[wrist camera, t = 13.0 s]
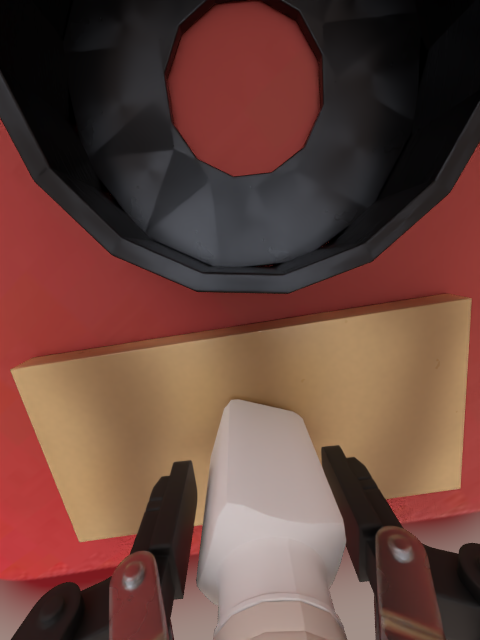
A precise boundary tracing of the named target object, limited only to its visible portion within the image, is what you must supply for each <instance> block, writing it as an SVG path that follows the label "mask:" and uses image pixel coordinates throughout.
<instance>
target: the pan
mask: <svg viewBox="0 0 480 640" xmlns="http://www.w3.org/2000/svg"><path fill="white" fill-rule="evenodd" d="M232 1H240V0H0V118H1V120H2V122H3V124H4V126H5V128H6V129H7V131H8V133H9V135H10V137H11V139H12V141H13V143H14V144H15V146H16V148H17V150H18V152H19V154H20V156H21V158H22V160H23V161H24V163H25V165H26V167H27V169H28V171H29V173H30V175H31V177H32V178H33V180H34V181H35V183H37V184H38V185H39V186H40V187H41V188H42V189H43V190H44V191H45V192H46V193H47V194H48V195H49V196H50V197H51V198H52V199H53V200H54V201H55V202H56V203H58V204H59V205H60V206H61V207H62V208H63V209H64V210H65V211H66V212H67V213H68V214H69V215H70V216H71V217H72V218H73V219H74V220H75V221H76V222H77V223H79V224H80V225H81V226H82V227H83V228H84V229H85V230H86V231H87V232H88V233H89V234H90V235H91V236H92V237H93V238H94V239H95V240H96V241H97V242H99V243H100V244H101V245H102V246H103V247H104V248H105V249H106V250H107V251H108V252H109V253H110V254H111V255H113V256H115V257H117V258H120V259H122V260H124V261H127V262H129V263H131V264H134V265H136V266H138V267H141V268H143V269H145V270H148V271H150V272H152V273H155V274H157V275H159V276H162V277H164V278H166V279H169V280H171V281H173V282H176V283H178V284H180V285H183V286H185V287H187V288H190V289H192V290H194V291H197V292H223V293H272V294H288V293H291V292H294V291H296V290H299V289H302V288H304V287H307V286H309V285H312V284H315V283H317V282H320V281H322V280H325V279H328V278H330V277H333V276H336V275H338V274H341V273H343V272H346V271H349V270H351V269H354V268H356V267H359V266H362V265H364V264H367V263H370V262H372V261H374V259H375V258H377V257H378V256H379V255H380V254H381V253H382V252H383V251H385V250H386V249H387V248H388V247H389V246H390V245H391V244H392V243H394V242H395V241H396V240H397V239H398V238H399V237H400V236H402V235H403V234H404V233H405V232H406V231H407V230H408V229H409V228H411V227H412V226H413V225H414V224H415V223H416V222H417V221H419V220H420V219H421V218H422V217H423V216H424V215H425V214H426V213H428V212H429V211H430V210H431V209H432V208H433V207H434V206H436V205H437V204H438V203H439V202H440V201H441V200H442V199H443V198H445V197H446V196H447V195H448V194H449V193H450V192H451V190H452V189H453V187H454V185H455V183H456V182H457V180H458V178H459V177H460V175H461V173H462V171H463V170H464V168H465V166H466V164H467V163H468V161H469V159H470V158H471V156H472V154H473V152H474V151H475V149H476V147H477V145H478V144H479V142H480V0H262V1H263V2H265V3H267V4H269V5H270V6H272V7H274V8H275V9H277V10H279V11H281V12H282V13H284V14H286V15H288V16H289V17H291V18H293V19H294V20H296V21H297V23H298V24H299V26H300V28H301V30H302V32H303V34H304V36H305V37H306V39H307V41H308V43H309V45H310V47H311V49H312V50H313V52H314V54H315V56H316V58H317V60H318V62H319V84H320V111H319V113H318V116H317V118H316V120H315V122H314V125H313V127H312V129H311V131H310V134H309V136H308V138H307V140H306V143H305V145H304V147H303V148H302V149H301V150H300V151H298V152H297V153H296V154H295V155H293V156H292V157H291V158H289V159H288V160H287V161H286V162H284V163H283V164H282V165H281V166H279V167H278V168H277V169H275V170H274V171H273V172H271V173H262V174H253V175H244V176H235V177H233V176H231V175H229V174H227V173H225V172H223V171H221V170H219V169H217V168H215V167H213V166H211V165H209V164H206V163H204V162H202V161H200V160H198V159H197V158H196V156H195V155H194V154H193V152H192V151H191V149H190V148H189V146H188V145H187V143H186V142H185V140H184V139H183V138H182V136H181V135H180V133H179V132H178V130H177V129H176V127H175V126H174V123H173V116H172V110H171V103H170V96H169V89H168V82H167V78H168V75H169V72H170V69H171V66H172V63H173V59H174V56H175V53H176V50H177V47H178V44H179V41H180V37H181V34H182V33H184V32H185V31H186V30H187V29H188V28H189V27H190V26H191V25H192V24H193V23H194V22H196V21H197V20H198V19H199V18H200V17H201V16H202V15H203V14H204V13H205V12H206V11H207V10H209V9H210V8H211V7H212V6H213V5H214V4H215V3H224V2H232ZM108 191H109V192H108ZM109 193H110V194H111V195H112V196H111V195H110V194H109ZM331 239H332V240H331ZM330 240H331V241H330ZM328 241H329V242H328ZM327 242H328V243H327ZM326 243H327V244H326ZM324 244H326V245H325V246H323V245H324ZM321 246H322V247H321ZM274 264H276V265H274ZM265 265H274V266H271V267H256V266H265Z"/></svg>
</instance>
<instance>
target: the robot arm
mask: <svg viewBox="0 0 480 640" xmlns="http://www.w3.org/2000/svg"><path fill="white" fill-rule="evenodd" d="M321 458H322V468H323V471H324V473H325V476H326V478H327V481H328V483H329V486H330V488H331V491H332V493H333V496H334V498H335V501H336V503H337V506H338V508H339V511H340V513H341V516H342V518H343V521H344V528H345V535H346V547H347V550H348V553H349V555H350V558H351V560H352V563H353V566H354V568H355V571H356V574H357V576H358V579H359V581H360V582H364V581H369V582H370V585H371V587H372V589H373V592H374V608H375V631H376V632H375V633H376V640H480V544H477V543H468V544H465V545H463V546H462V547H461V548H460V550H459V554H457V553H453V552H447V551H444V550H439V549H435V548H432V547H429V546H426V545H424V544H422V543H421V542H420V541H419V540H418V539H417V538H416V537H415V536H414V535H413V534H412V533H410V532H409V531H407V530H405V529H404V528H403V527H402V526H401V524H400V522H399V521H398V519H397V517H396V516H395V514H394V512H393V511H392V509H391V508H390V506H389V504H388V503H387V501H386V499H385V498H384V496H383V494H382V493H381V491H380V489H378V486H377V484H376V483H375V481H374V479H372V476H371V475H370V473H369V471H368V470H367V468H366V466H365V465H364V464H362V463H361V462H360V461H359V460H358V459H357V458H355V457H348V458H346V456H345V454H344V452H343V450H342V449H341V447H340V446H339V445H334V446H325V447H322V448H321ZM196 508H197V485H196V480H195V474H194V469H193V464H192V461H191V460H187V461H177V462H174V463H173V466H172V469H171V472H170V476H162V477H161V478H160V479H159V480H158V482H157V483H156V484H155V486H154V487H153V489H152V492H151V495H150V498H149V502H148V504H147V507H146V511H145V512H144V515H143V518H142V521H141V524H140V527H139V530H138V533H137V536H136V538H135V541H134V544H133V547H132V550H131V553H130V555H129V556H127V557H126V558H125V559H124V560H123V561H122V562H121V563H120V564H119V565H118V566H117V568H116V569H115V571H114V573H113V575H112V576H111V577H109V578H108V579H106V580H105V581H102V582H100V583H98V584H96V585H93V586H91V587H89V588H87V589H85V590H82V591H80V589H79V587H78V585H77V584H75V583H72V582H66V583H62V584H60V585H58V586H56V587H54V588H52V589H51V590H50V591H48V592H47V593H46V594H45V595H44V596H42V597H41V599H40V600H39V601H38V602H37V603H36V604H35V606H34V607H33V609H32V610H31V611H30V613H29V614H28V616H27V617H26V619H25V620H24V621H23V623H22V624H21V626H20V627H19V629H18V630H17V631H16V633H15V634H14V636H13V637H12V639H11V640H174V637H173V631H172V625H171V620H170V617H171V612H172V606H173V600H174V599H183V595H184V589H185V582H186V575H187V568H188V562H189V555H190V549H191V542H192V535H193V529H194V522H195V515H196Z"/></svg>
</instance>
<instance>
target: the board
mask: <svg viewBox="0 0 480 640" xmlns="http://www.w3.org/2000/svg"><path fill="white" fill-rule="evenodd" d="M471 301H472V299H471V298H468V297H463V296H458V295H453V294H448V293H447V294H440V295H434V296H427V297H421V298H414V299H408V300H402V301H395V302H389V303H382V304H376V305H369V306H363V307H357V308H350V309H344V310H337V311H331V312H324V313H318V314H311V315H305V316H299V317H292V318H286V319H279V320H273V321H266V322H260V323H253V324H247V325H241V326H234V327H228V328H221V329H215V330H208V331H202V332H196V333H189V334H183V335H176V336H170V337H163V338H157V339H150V340H144V341H138V342H131V343H125V344H118V345H112V346H105V347H99V348H93V349H86V350H80V351H73V352H67V353H60V354H54V355H47V356H41V357H35V358H31V359H29V360H27V361H26V362H24V363H22V364H20V365H18V366H16V367H14V368H12V369H11V370H10V371H11V373H12V376H13V378H14V381H15V383H16V386H17V388H18V391H19V393H20V396H21V398H22V401H23V403H24V406H25V408H26V411H27V413H28V416H29V418H30V421H31V423H32V426H33V428H34V431H35V433H36V436H37V438H38V441H39V443H40V446H41V448H42V451H43V453H44V455H45V458H46V460H47V463H48V465H49V468H50V470H51V473H52V475H53V478H54V480H55V483H56V485H57V488H58V490H59V493H60V495H61V498H62V500H63V503H64V505H65V508H66V510H67V513H68V515H69V518H70V520H71V523H72V525H73V528H74V530H75V533H76V535H77V538H78V540H79V542H84V541H91V540H98V539H105V538H112V537H119V536H127V535H134V534H137V533H138V530H139V527H140V524H141V521H142V518H143V515H144V512H145V511H146V507H147V504H148V502H149V498H150V495H151V492H152V489H153V487H154V486H155V484H156V483H157V482H158V480H159V479H160V478H161V477H162V476H170V472H171V469H172V466H173V463H174V462H177V461H187V460H191V461H192V464H193V469H194V474H195V480H196V485H197V508H196V515H195V522H194V526H198V525H203V519H204V510H205V502H206V493H207V484H208V476H209V467H210V459H211V454H212V450H213V447H214V443H215V439H216V436H217V432H218V429H219V425H220V422H221V418H222V414H223V411H224V408H225V407H226V406H227V405H228V404H229V402H230V401H231V400H235V399H239V400H244V401H248V402H253V403H257V404H262V405H266V406H271V407H275V408H280V409H284V410H289V411H293V412H294V413H296V414H298V415H299V416H300V417H302V419H303V421H304V424H305V426H306V429H307V431H308V434H309V436H310V438H311V441H312V443H313V446H314V448H315V451H316V453H317V456H318V458H319V461H320V463H321V466H322V458H321V448H322V447H325V446H334V445H339V446H340V447H341V449H342V450H343V452H344V454H345V456H346V458H348V457H355V458H357V459H358V460H359V461H360V462H361V463H362V464H364V465H365V466H366V468H367V470H368V471H369V473H370V475H371V476H372V479H374V481H375V483H376V484H377V486H378V489H380V491H381V493H382V494H383V496H384V498H385V499H390V498H397V497H404V496H411V495H418V494H426V493H433V492H440V491H447V490H454V489H460V484H461V467H462V451H463V434H464V417H465V401H466V384H467V368H468V351H469V334H470V318H471Z"/></svg>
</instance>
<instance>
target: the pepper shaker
mask: <svg viewBox="0 0 480 640" xmlns="http://www.w3.org/2000/svg"><path fill="white" fill-rule="evenodd" d="M345 545H346V535H345V528H344V521H343V518H342V516H341V513H340V511H339V508H338V506H337V503H336V501H335V498H334V496H333V493H332V491H331V488H330V486H329V483H328V481H327V478H326V476H325V473H324V471H323V468H322V466H321V463H320V461H319V458H318V456H317V453H316V451H315V448H314V446H313V443H312V441H311V438H310V436H309V434H308V431H307V429H306V426H305V424H304V421H303V419H302V417H300V416H299V415H298V414H296V413H294V412H293V411H289V410H284V409H280V408H275V407H271V406H266V405H262V404H257V403H253V402H248V401H244V400H239V399H235V400H231V401H230V402H229V404H228V405H227V406H226V407H225V408H224V411H223V414H222V418H221V422H220V425H219V429H218V432H217V436H216V439H215V443H214V447H213V450H212V454H211V459H210V467H209V476H208V484H207V493H206V502H205V510H204V519H203V527H202V536H201V544H200V553H199V562H198V570H197V579H196V581H197V586H198V588H199V590H200V591H201V592H202V593H203V594H204V595H205V596H206V597H207V598H208V599H209V600H210V601H211V602H212V603H213V604H216V605H218V625H217V626H216V628H215V630H214V637H213V640H347V638H346V634H345V631H344V627H343V625H342V623H341V621H340V619H339V616H338V615H337V614H336V613H335V611H334V607H333V603H332V599H331V596H330V592H329V589H330V587H331V585H332V583H333V581H334V579H335V576H336V574H337V571H338V569H339V566H340V563H341V560H342V556H343V552H344V548H345Z"/></svg>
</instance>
